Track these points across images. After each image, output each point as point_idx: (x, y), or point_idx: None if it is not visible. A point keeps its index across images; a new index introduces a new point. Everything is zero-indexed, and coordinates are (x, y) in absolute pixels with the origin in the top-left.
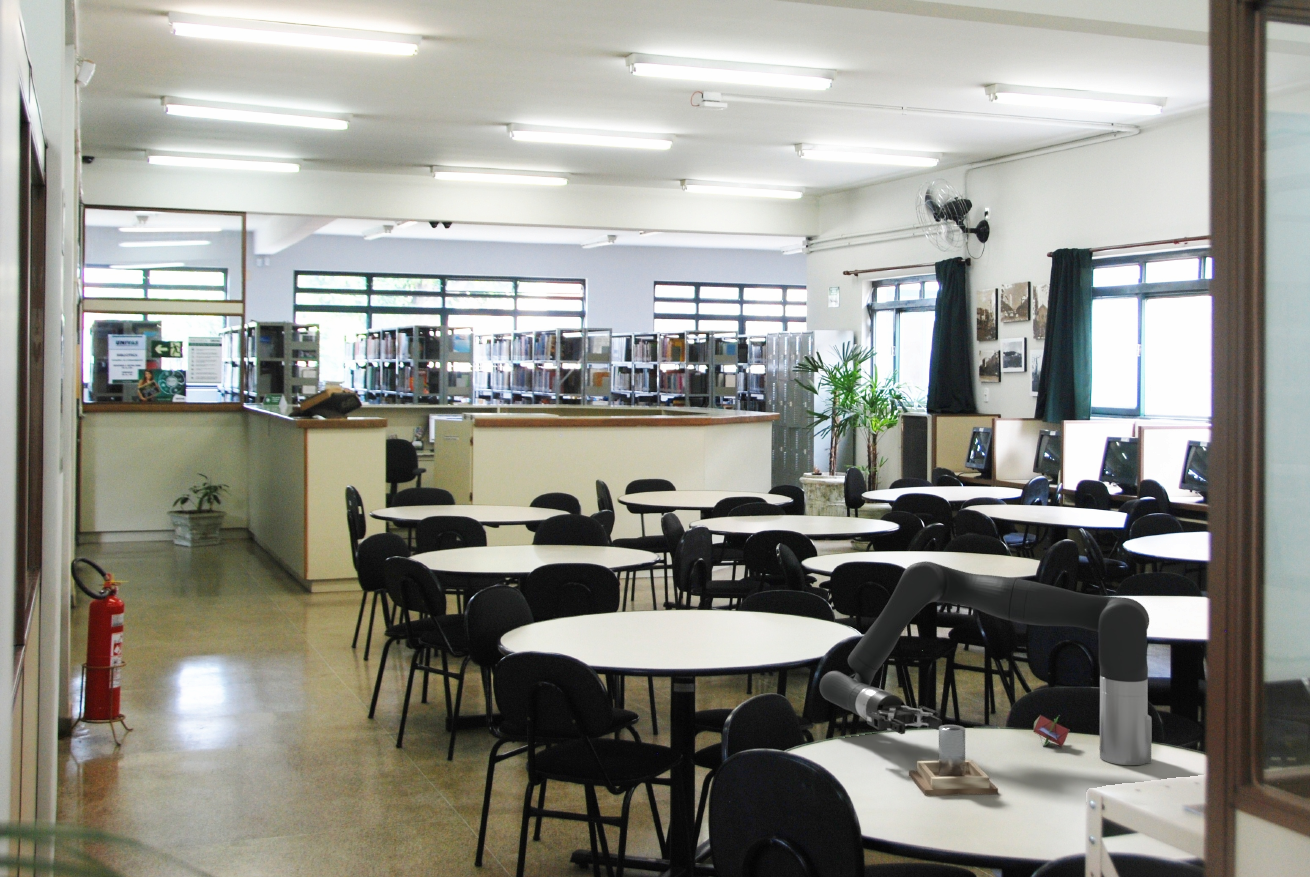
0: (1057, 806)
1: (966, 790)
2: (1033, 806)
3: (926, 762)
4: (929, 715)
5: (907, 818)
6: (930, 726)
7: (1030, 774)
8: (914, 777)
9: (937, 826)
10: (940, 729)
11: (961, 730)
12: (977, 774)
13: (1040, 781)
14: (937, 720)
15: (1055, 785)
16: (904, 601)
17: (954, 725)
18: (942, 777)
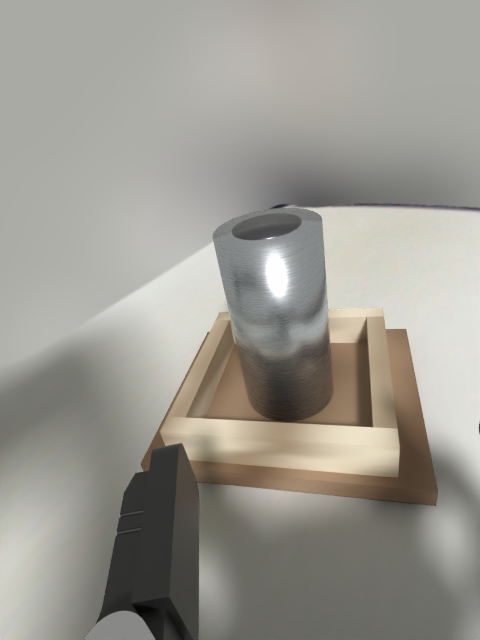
0: (150, 298)
1: None
2: (190, 298)
3: (358, 427)
4: (161, 589)
5: (469, 259)
6: (198, 602)
7: (2, 452)
8: (422, 415)
9: (411, 243)
10: (321, 219)
11: (245, 217)
12: (219, 355)
13: (42, 401)
14: (181, 453)
15: (41, 377)
16: None
17: (234, 245)
18: (347, 314)
